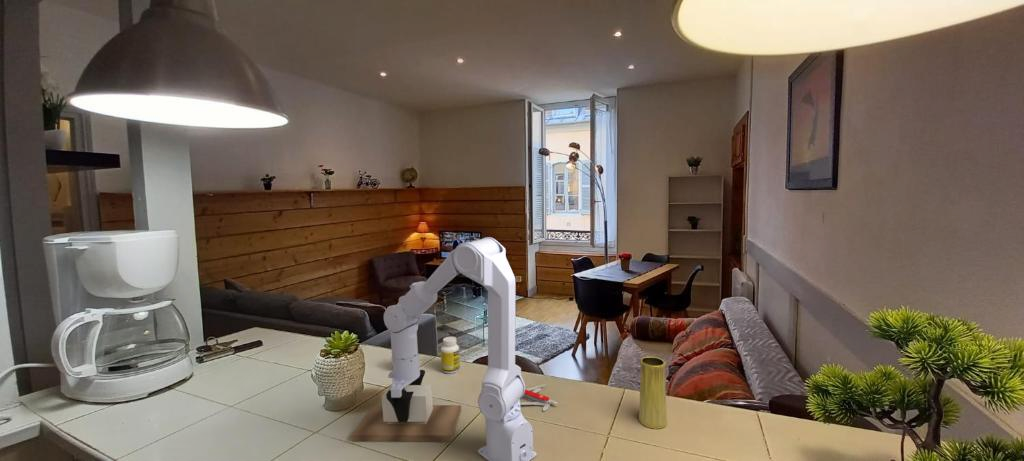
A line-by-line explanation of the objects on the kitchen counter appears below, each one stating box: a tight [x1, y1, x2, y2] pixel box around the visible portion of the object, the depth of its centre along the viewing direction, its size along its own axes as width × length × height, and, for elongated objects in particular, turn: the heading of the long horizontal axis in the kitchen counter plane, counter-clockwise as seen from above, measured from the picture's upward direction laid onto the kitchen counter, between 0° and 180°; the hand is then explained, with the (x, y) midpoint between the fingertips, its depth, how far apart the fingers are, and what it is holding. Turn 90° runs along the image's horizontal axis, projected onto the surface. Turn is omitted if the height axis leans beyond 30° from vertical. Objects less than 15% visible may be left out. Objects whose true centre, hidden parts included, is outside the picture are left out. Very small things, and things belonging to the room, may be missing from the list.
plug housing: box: [381, 384, 434, 422], centre depth 91 cm, size 10×5×6 cm, turn 87°
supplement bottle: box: [440, 336, 461, 374], centre depth 119 cm, size 5×5×10 cm
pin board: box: [350, 404, 462, 443], centre depth 91 cm, size 22×12×4 cm, turn 87°
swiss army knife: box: [520, 384, 558, 412], centre depth 100 cm, size 12×14×2 cm
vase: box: [638, 355, 668, 430], centre depth 89 cm, size 6×6×14 cm
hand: (408, 411), depth 91 cm, fingers open, 7 cm apart
